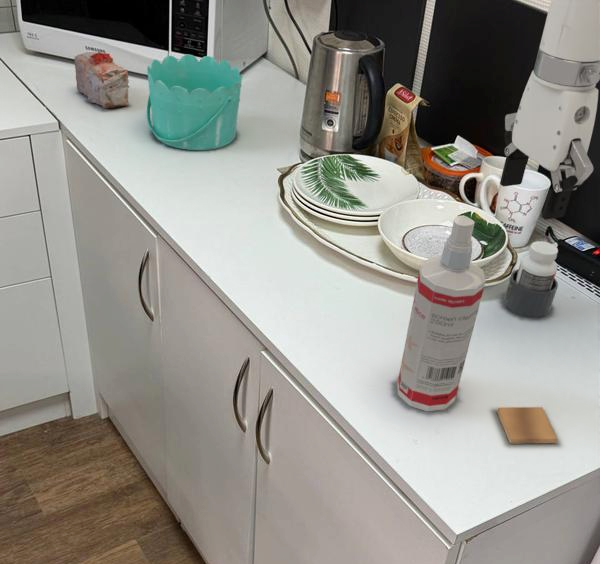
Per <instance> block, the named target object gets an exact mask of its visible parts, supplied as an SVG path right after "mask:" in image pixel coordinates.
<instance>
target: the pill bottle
mask: <svg viewBox="0 0 600 564" xmlns="http://www.w3.org/2000/svg"><path fill="white" fill-rule="evenodd" d="M558 253H559V249H558V247H557V246H556V245H554V244H553V243H550V242H547V241H538V240H537V241H534V242H532V243H531V244H530V246H529V249H528V253H527V254H526V255H524V256H523V257H522V258H521V260H520V263H519V266H518V269H519V270H518V273H517V277H516V280H515V282H516V283H517V284H518V285H519V286H521V287H523V288H525V289H528V290H531V291H536V292H547V291H550V290H551V287H552V284H553V280H554V278H555V277H556V274H557V270H558V263H557V262H556V261H555V260H556V259H557V256H558Z"/></svg>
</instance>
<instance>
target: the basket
mask: <svg viewBox="0 0 600 564" xmlns="http://www.w3.org/2000/svg"><path fill="white" fill-rule="evenodd" d="M146 72H147V74H146V75H147V82H148V91H149V95H148V99H147V103H146V120H147V124H148V127H149V129H150V131H151V132H152V133H153V134H154V136H155V138H156V139H157V140H158V141H159V142H161V143H163V144H165V145H166V146H170V147H173V148H177V149H179V150H180V149H182V150H188V151H189V150H190V151H207V150H209V151H210V150H215V149H219V148H223V147H226V146H228V145H230V144H231V143H232V142H233V141H234V140H235V138H236V135H237V126H238V117H239V116H238V115H239V107H240V102H241V89H242V81H243V73H241V74H240V69H239V67H238V66H234V67H233V68H232V66H231V64H230V62H229V61H228V60H226V59H222V60H220V61H219V62H217V60H216V59H215V58H214V57H213V56H210V55H204V56H203V57H201V58H200V59H199V60H198V59H197V57H196V56H195V55H194V54H190V53H188V54H187V53H186V54H184V55H182V56H181V57H180V59H179V60H178V58H177V57H175V56H173V55H167V56H165V57H163V59H162V62H160V61H159V60H158V59H153V60H152V61H151V64H150V66H149V65H147V66H146ZM151 117H152V118H151ZM151 119H152V120H151Z"/></svg>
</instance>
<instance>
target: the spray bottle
mask: <svg viewBox="0 0 600 564" xmlns="http://www.w3.org/2000/svg"><path fill="white" fill-rule="evenodd" d="M474 227H475V221H474V220H473V219H472V218H470V217H468V216H466V215H464V214H463V215H457V216H455V217H454V219H453V223H452V227H451V232H450V235H449V236H448V238H446V241H445V242H444V246H443V250H442V252H441V256H431V257H429V258H427V260H424V262H422V263H420V265H419V270H418V276H417V280H416V285H415V292H414V296H413V301H412V307H411V311H410V317H409V321H408V327H407V332H406V337H405V341H404V342H405V343H404V348H403V352H402V358H401V363H400V369H399V373H398V379H397V396H398V397H399V398H400V399H401V400H402V401H403V402H405V403H406V405H408V406H409V407H411V408H414V409H418V410H421V411H424V412H435V411H445V410H447V408H449V407H450V406H451V405H452V404H453V403H454V402H456V398H457V395H458V390H459V386H460V382H461V378H462V375H463V370H464V367H465V364H466V359H467V355H468V352H469V349H470V344H471V339H472V336H473V332H474V328H475V325H476V320H477V316H478V312H479V308H480V305H481V301H482V297H483V294H484V289H485V286H486V282H487V280H486V276H485V271H484V269H483V268H481V267H479V266H478V265H477V264H475V263H473V262H472V261H471V260H472V254H473V240H472V236H473V231H474Z"/></svg>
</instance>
